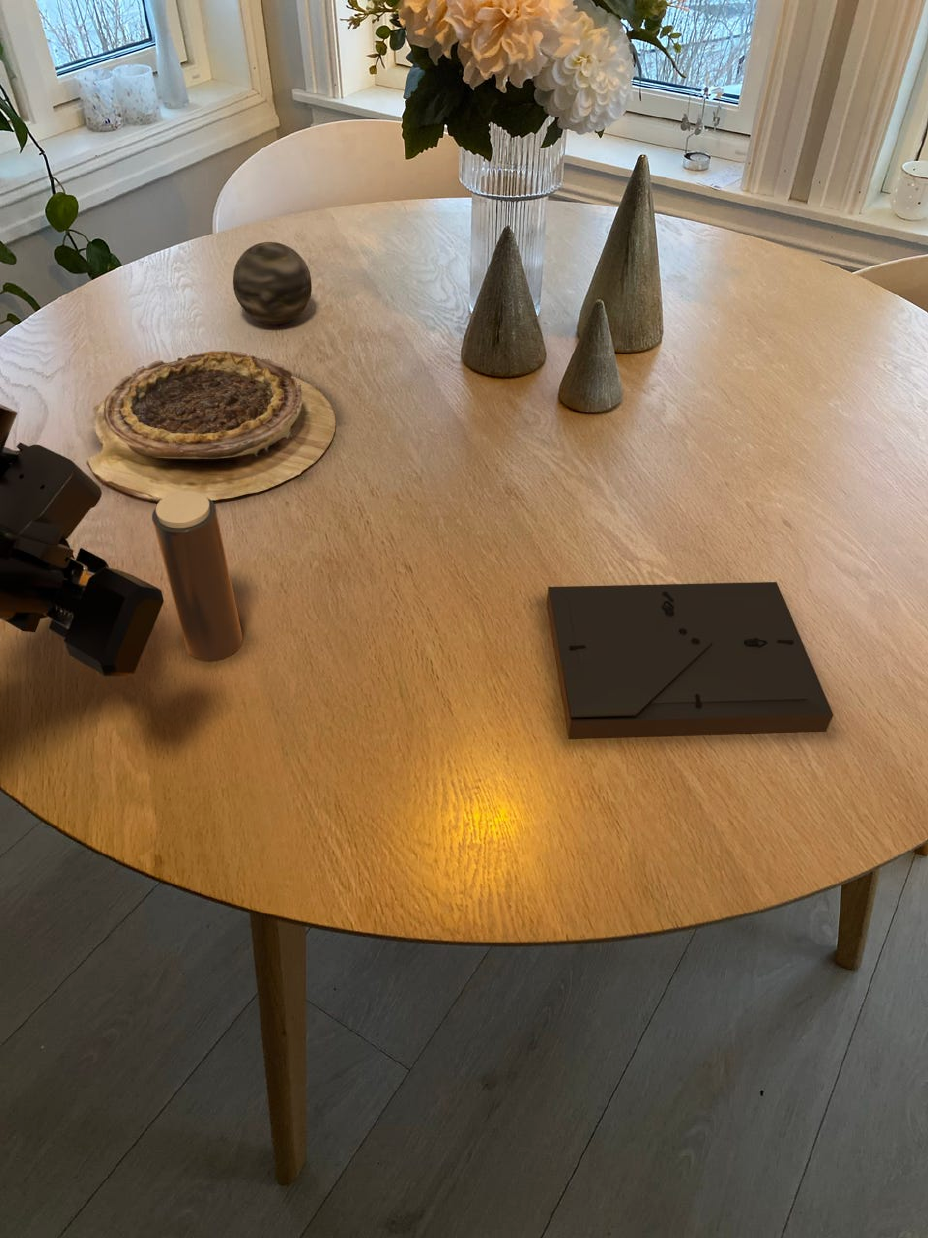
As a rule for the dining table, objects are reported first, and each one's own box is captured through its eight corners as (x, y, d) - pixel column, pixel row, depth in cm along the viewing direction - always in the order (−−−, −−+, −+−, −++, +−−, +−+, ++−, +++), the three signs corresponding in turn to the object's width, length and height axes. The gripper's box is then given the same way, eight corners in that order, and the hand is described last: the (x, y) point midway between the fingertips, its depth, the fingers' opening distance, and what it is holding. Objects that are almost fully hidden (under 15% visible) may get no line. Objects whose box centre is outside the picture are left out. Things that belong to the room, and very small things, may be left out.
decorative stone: (310, 338, 123) (302, 262, 116) (232, 337, 123) (219, 261, 116) (319, 303, 130) (312, 229, 123) (245, 302, 130) (234, 228, 123)
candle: (195, 668, 81) (159, 532, 71) (179, 633, 84) (142, 498, 74) (250, 649, 82) (222, 514, 72) (232, 615, 85) (203, 481, 75)
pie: (244, 347, 121) (238, 309, 117) (386, 433, 107) (384, 394, 104) (35, 430, 107) (21, 390, 103) (168, 543, 93) (157, 501, 89)
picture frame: (568, 738, 76) (826, 731, 77) (571, 715, 74) (836, 708, 75) (546, 603, 87) (771, 598, 88) (548, 580, 85) (778, 575, 86)
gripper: (102, 492, 53) (263, 541, 68) (-101, 393, 61) (83, 457, 75) (28, 674, 54) (203, 685, 68) (-163, 555, 61) (31, 587, 76)
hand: (128, 596), depth 72 cm, fingers closed
